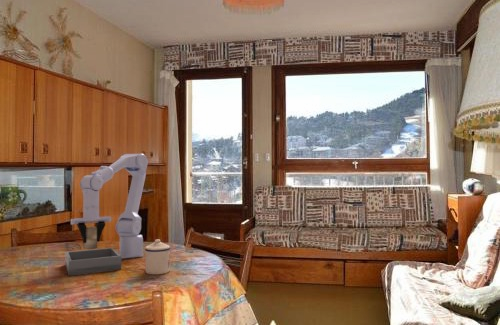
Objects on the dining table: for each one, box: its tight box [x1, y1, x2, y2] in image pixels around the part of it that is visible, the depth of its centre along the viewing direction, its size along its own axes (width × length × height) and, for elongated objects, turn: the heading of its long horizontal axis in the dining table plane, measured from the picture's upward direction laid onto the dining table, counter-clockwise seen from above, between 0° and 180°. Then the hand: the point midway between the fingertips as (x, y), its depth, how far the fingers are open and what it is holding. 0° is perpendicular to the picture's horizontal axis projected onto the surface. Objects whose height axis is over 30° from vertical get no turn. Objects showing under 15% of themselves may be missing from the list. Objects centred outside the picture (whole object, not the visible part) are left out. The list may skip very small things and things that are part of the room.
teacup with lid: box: [144, 238, 171, 275], centre depth 154 cm, size 12×9×12 cm
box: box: [64, 247, 122, 276], centre depth 160 cm, size 18×18×5 cm
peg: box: [84, 226, 98, 250], centre depth 161 cm, size 4×4×8 cm
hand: (91, 241), depth 161 cm, fingers closed on peg, 4 cm apart
